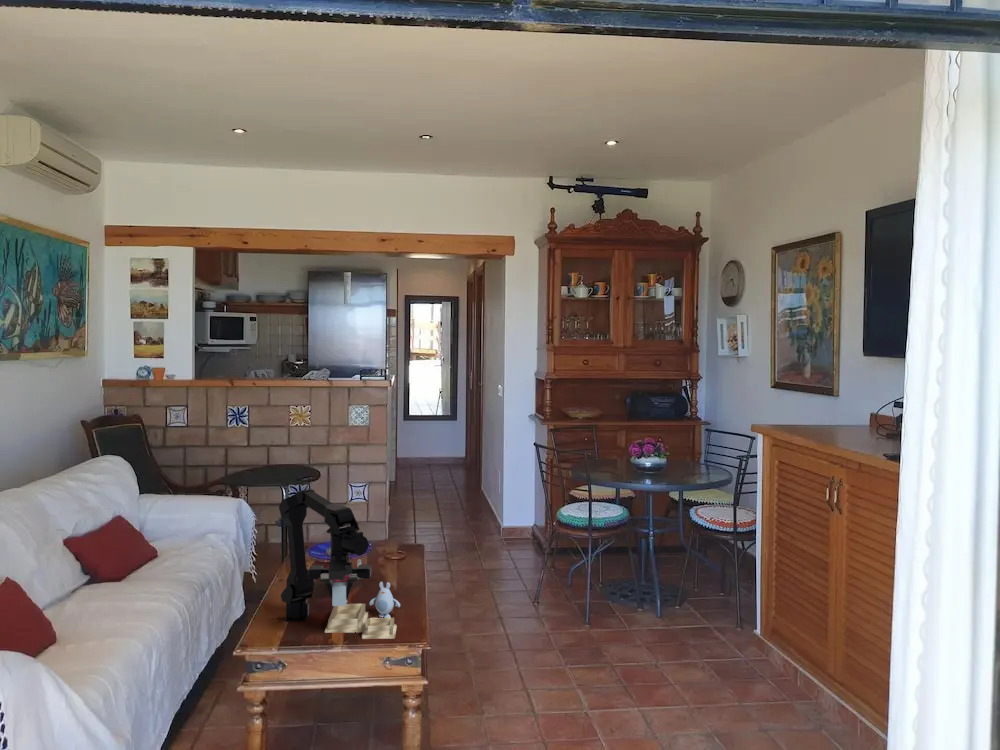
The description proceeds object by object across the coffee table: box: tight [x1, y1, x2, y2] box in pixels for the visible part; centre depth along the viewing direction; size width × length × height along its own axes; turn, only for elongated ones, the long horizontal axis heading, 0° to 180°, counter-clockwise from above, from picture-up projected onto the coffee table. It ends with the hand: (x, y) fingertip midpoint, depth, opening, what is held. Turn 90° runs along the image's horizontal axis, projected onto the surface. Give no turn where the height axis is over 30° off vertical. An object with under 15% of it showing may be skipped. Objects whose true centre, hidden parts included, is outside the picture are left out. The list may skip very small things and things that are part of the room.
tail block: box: [331, 581, 348, 607], centre depth 232 cm, size 4×4×6 cm
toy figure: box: [368, 581, 401, 618], centre depth 250 cm, size 11×6×12 cm, turn 81°
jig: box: [324, 603, 398, 640], centre depth 242 cm, size 22×21×4 cm
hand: (339, 599), depth 232 cm, fingers closed on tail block, 4 cm apart
